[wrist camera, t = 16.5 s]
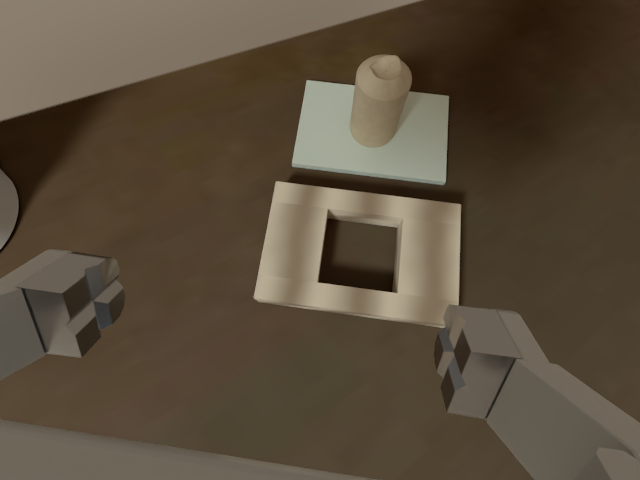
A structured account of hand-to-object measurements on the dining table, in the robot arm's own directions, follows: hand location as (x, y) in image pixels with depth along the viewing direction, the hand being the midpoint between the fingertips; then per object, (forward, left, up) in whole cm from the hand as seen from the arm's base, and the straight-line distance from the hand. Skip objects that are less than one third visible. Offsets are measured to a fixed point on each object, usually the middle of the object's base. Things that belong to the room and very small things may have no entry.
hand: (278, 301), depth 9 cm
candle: (+4, +25, -29) cm, 39 cm away
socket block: (+4, +9, -29) cm, 31 cm away
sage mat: (+4, +25, -29) cm, 39 cm away
